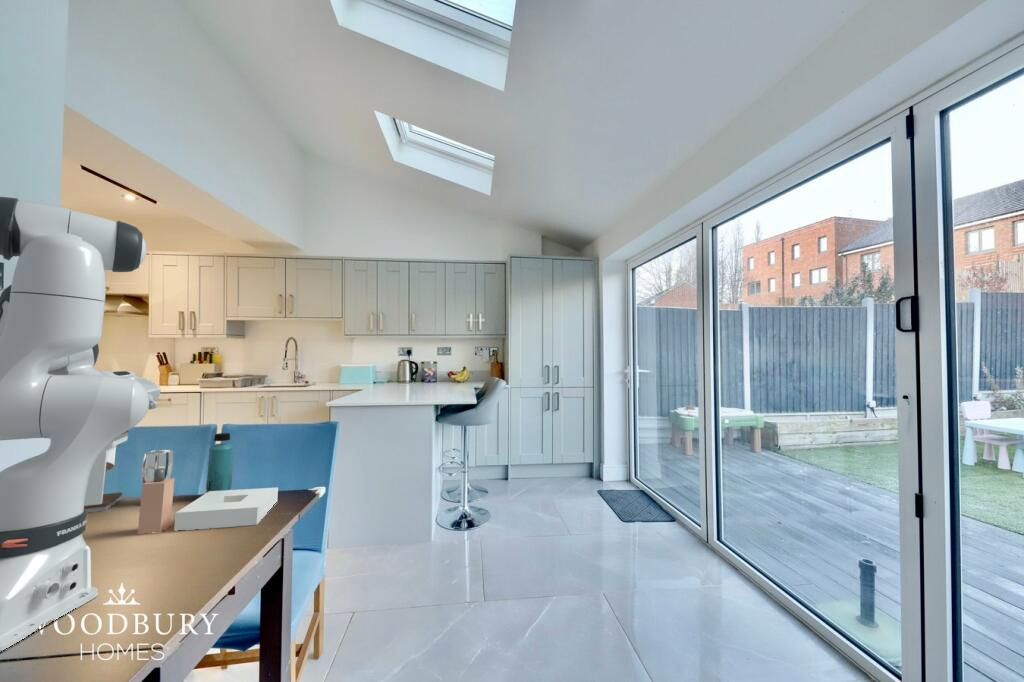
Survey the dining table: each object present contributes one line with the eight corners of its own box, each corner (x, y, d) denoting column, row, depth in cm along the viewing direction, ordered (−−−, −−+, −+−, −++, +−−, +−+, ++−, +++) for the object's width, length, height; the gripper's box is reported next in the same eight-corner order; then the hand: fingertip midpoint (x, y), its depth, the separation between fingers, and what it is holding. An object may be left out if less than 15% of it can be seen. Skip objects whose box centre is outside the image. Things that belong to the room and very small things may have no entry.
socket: (256, 524, 101) (257, 507, 102) (173, 531, 96) (175, 512, 97) (277, 502, 119) (278, 487, 119) (208, 507, 114) (209, 491, 114)
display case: (105, 511, 109) (118, 386, 112) (51, 517, 104) (65, 386, 107) (121, 499, 119) (133, 384, 122) (72, 504, 114) (85, 384, 117)
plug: (160, 533, 95) (165, 470, 97) (137, 534, 94) (143, 471, 95) (170, 526, 100) (175, 466, 101) (149, 527, 98) (154, 467, 100)
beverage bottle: (235, 494, 125) (240, 432, 127) (218, 501, 118) (223, 435, 120) (217, 493, 126) (222, 431, 127) (198, 500, 119) (204, 434, 121)
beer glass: (146, 499, 119) (151, 449, 120) (174, 498, 121) (178, 449, 122) (132, 507, 112) (137, 454, 113) (161, 505, 114) (166, 453, 116)
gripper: (35, 389, 88) (82, 415, 86) (138, 369, 108) (177, 390, 106) (33, 413, 89) (78, 439, 88) (134, 389, 109) (173, 410, 107)
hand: (133, 412), depth 97 cm, fingers open, 8 cm apart
